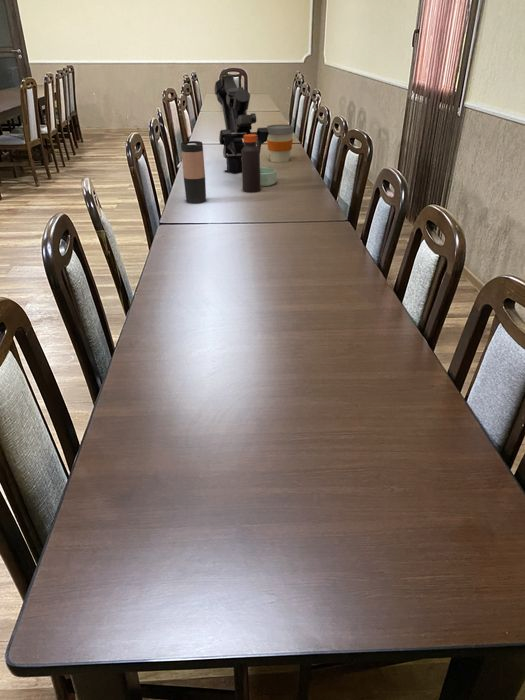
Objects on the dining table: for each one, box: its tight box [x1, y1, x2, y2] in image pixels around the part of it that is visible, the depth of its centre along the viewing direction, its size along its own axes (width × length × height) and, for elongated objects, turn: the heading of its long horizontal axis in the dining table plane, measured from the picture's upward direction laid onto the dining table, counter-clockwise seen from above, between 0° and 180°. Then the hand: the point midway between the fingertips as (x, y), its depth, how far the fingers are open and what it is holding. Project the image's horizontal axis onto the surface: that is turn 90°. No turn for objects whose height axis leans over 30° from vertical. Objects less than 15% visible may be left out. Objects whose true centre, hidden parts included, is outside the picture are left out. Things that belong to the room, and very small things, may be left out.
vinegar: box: [241, 134, 261, 193], centre depth 202 cm, size 7×7×20 cm
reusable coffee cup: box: [266, 124, 294, 163], centre depth 251 cm, size 13×13×15 cm
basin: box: [260, 166, 277, 188], centre depth 215 cm, size 12×12×5 cm
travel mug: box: [180, 140, 207, 204], centre depth 191 cm, size 8×8×20 cm
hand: (247, 154), depth 206 cm, fingers open, 9 cm apart
